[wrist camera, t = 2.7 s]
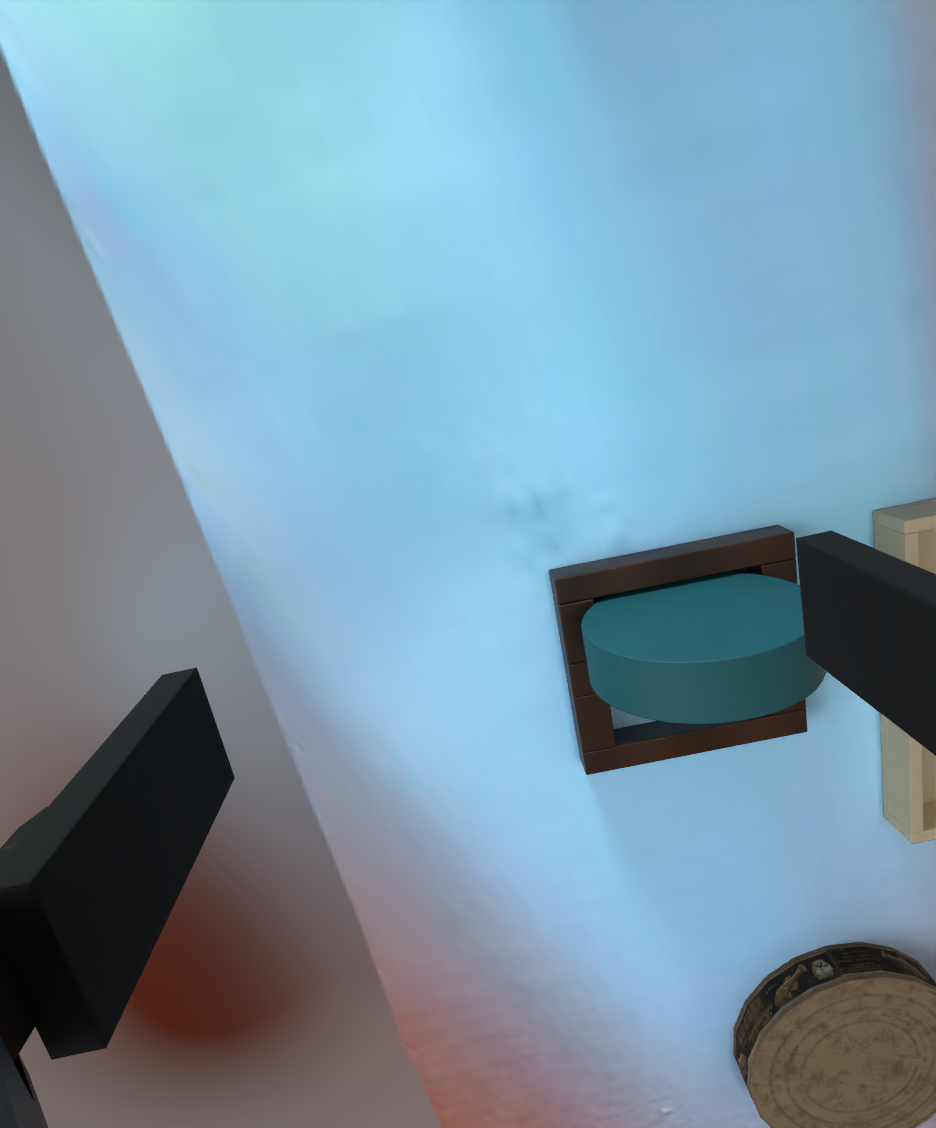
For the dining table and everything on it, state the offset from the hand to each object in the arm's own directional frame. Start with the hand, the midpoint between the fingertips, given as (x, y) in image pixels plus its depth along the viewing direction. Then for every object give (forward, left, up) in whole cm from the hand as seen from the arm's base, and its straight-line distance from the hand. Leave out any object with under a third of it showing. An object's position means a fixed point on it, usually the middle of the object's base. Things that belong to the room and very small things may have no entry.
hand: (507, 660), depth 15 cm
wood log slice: (+40, +31, -27) cm, 57 cm away
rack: (+10, +14, -27) cm, 32 cm away
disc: (+7, +13, -21) cm, 25 cm away
